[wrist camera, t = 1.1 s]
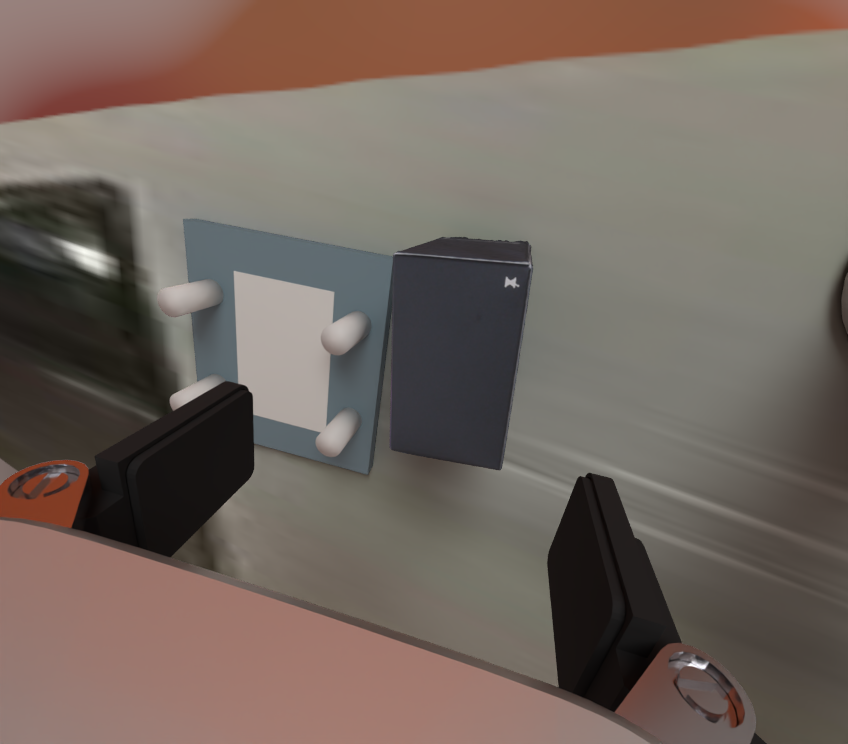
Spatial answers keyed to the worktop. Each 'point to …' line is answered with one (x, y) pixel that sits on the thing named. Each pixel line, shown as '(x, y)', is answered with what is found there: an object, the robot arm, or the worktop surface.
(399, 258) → the small box
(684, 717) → the robot arm
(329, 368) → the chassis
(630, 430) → the worktop surface
